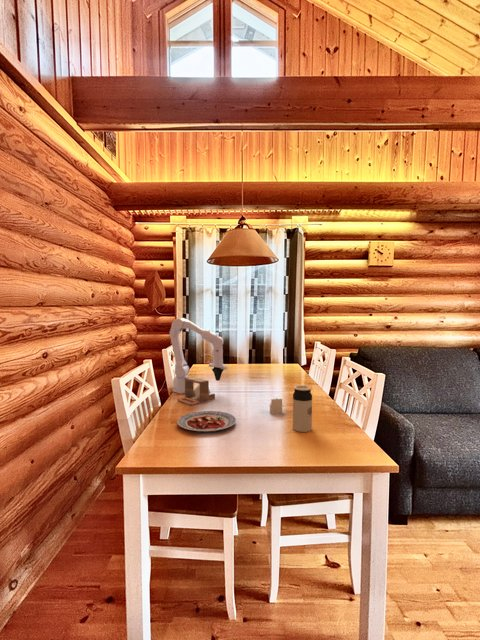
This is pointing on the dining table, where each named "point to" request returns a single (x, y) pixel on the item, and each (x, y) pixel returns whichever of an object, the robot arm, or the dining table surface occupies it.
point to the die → (198, 391)
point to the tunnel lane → (203, 389)
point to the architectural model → (276, 406)
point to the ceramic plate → (206, 421)
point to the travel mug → (302, 408)
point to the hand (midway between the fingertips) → (217, 380)
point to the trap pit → (188, 401)
